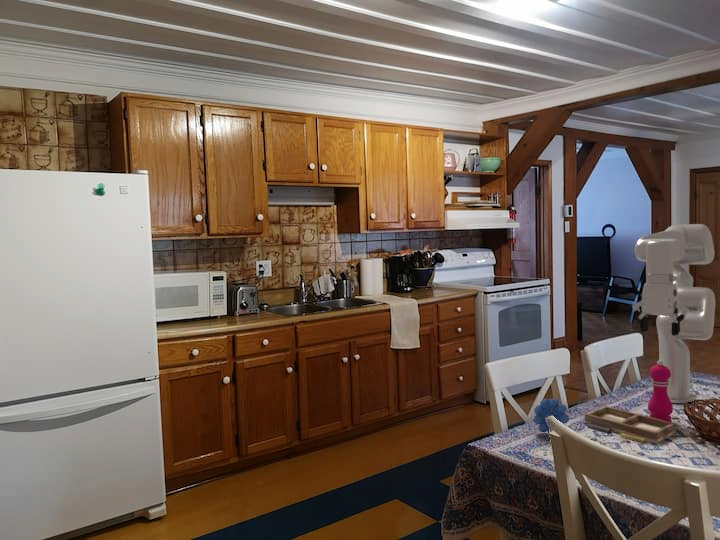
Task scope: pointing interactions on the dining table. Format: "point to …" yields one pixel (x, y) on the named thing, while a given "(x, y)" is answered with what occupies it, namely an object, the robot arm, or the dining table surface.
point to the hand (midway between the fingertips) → (659, 333)
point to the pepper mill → (660, 393)
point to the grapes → (549, 413)
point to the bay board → (630, 425)
